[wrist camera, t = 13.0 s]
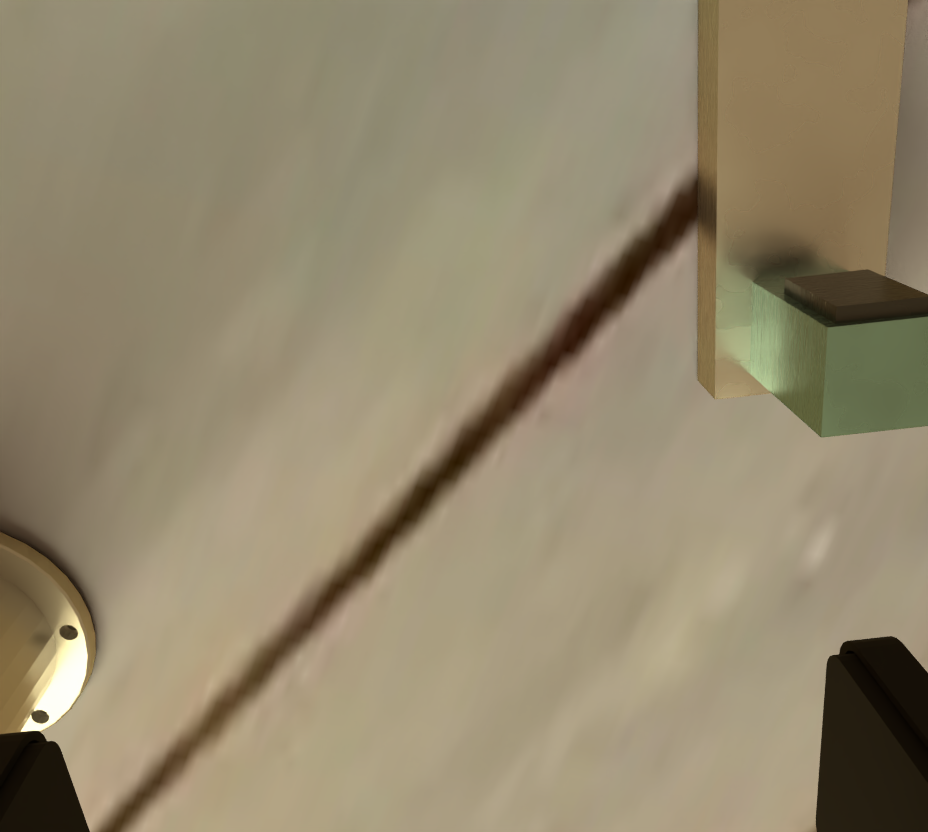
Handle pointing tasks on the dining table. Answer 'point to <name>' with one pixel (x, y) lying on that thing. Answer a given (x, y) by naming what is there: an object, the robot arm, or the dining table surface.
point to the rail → (805, 213)
